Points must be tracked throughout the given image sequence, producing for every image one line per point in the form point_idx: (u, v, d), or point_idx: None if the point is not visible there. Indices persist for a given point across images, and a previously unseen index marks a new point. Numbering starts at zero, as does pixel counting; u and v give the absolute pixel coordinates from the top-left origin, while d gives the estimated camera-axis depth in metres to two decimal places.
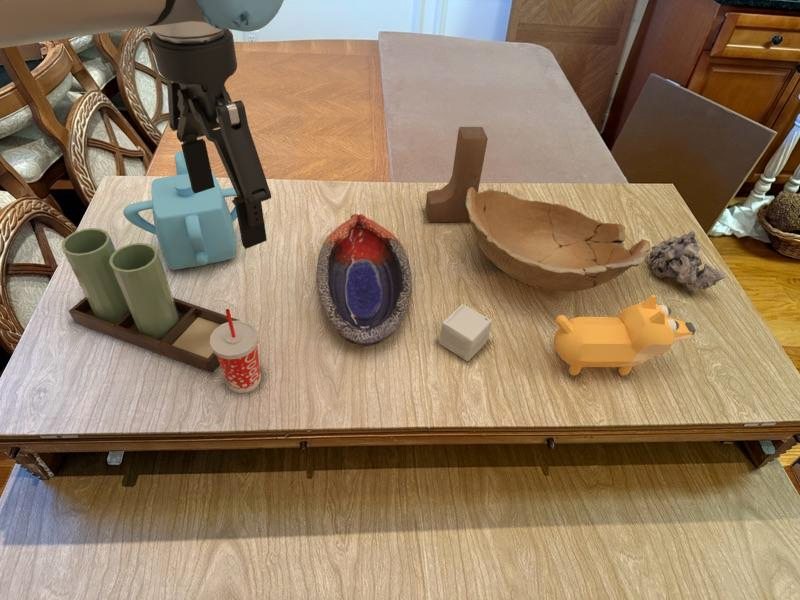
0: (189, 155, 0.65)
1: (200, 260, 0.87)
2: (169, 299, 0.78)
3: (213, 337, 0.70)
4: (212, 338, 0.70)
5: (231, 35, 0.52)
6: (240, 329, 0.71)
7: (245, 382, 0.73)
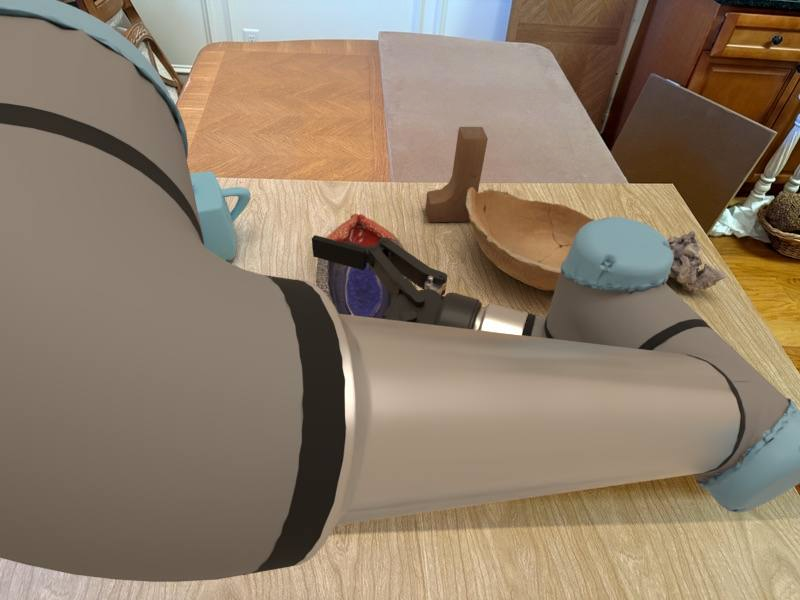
0: (353, 253, 0.61)
1: None
2: None
3: None
4: None
5: None
6: None
7: None
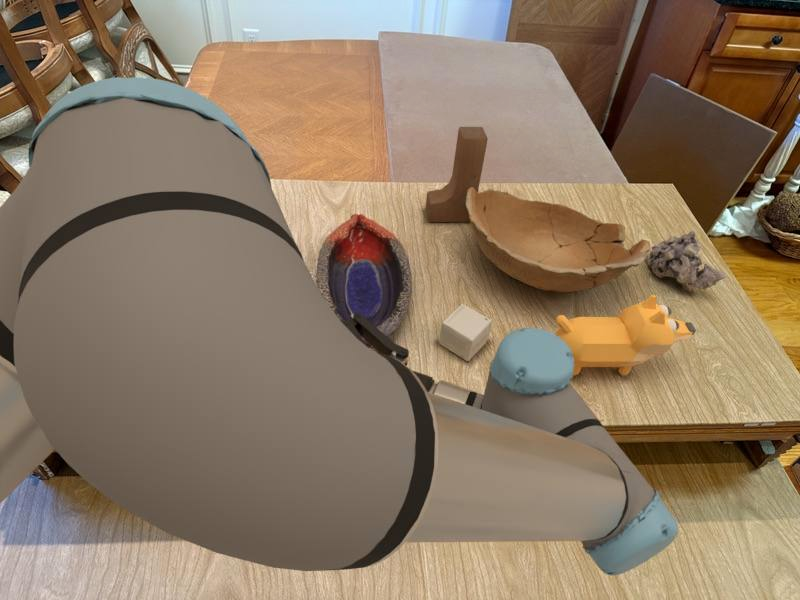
0: None
1: None
2: None
3: None
4: None
5: None
6: None
7: None
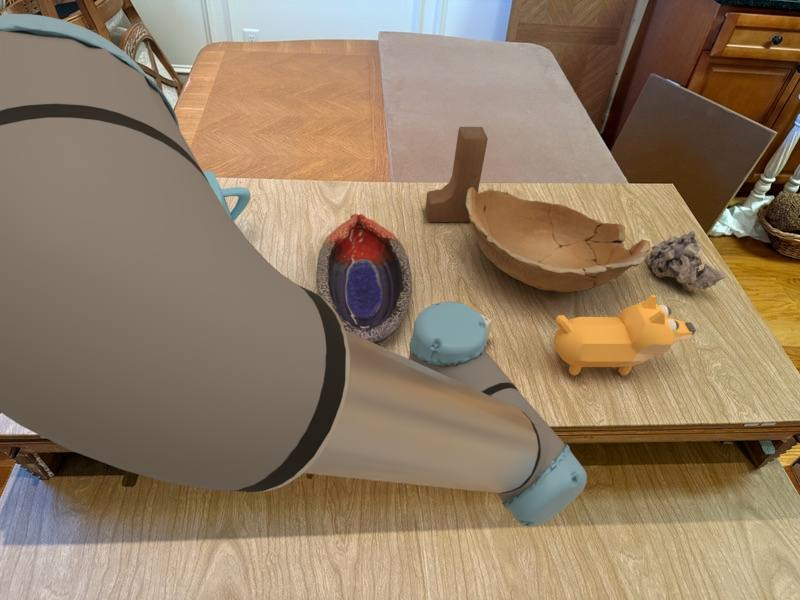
0: None
1: None
2: None
3: None
4: None
5: None
6: None
7: None
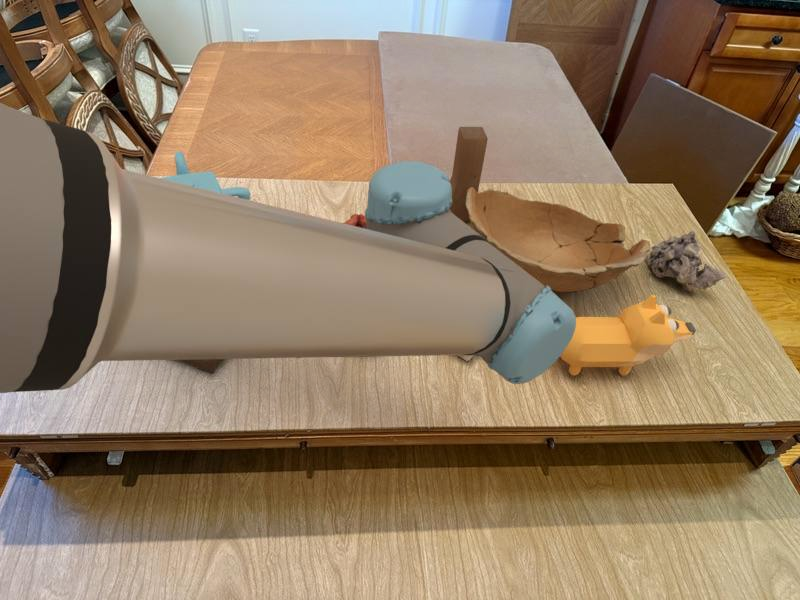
0: None
1: None
2: None
3: None
4: None
5: None
6: None
7: None
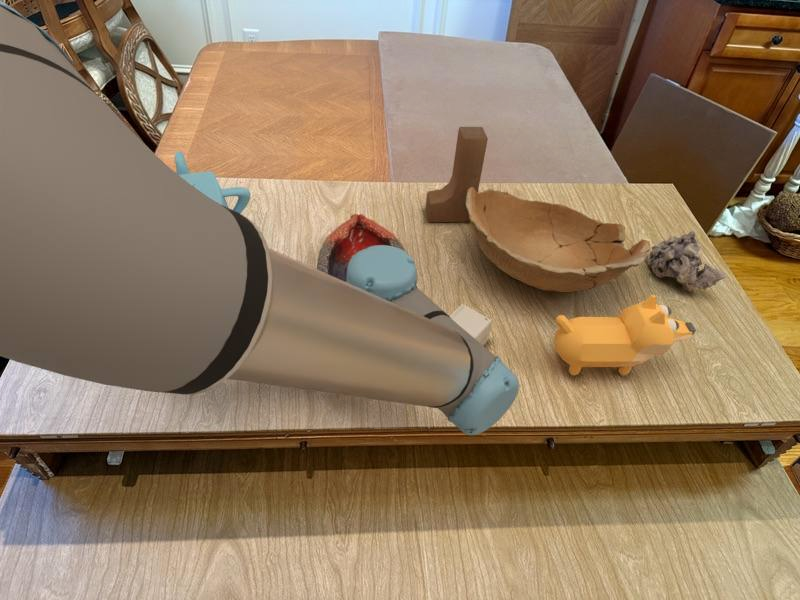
0: None
1: None
2: None
3: None
4: None
5: None
6: None
7: None
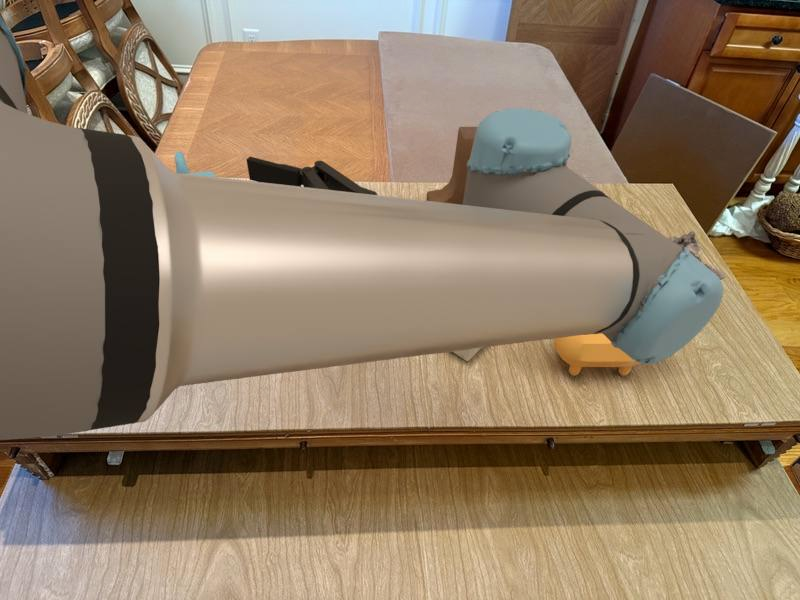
0: (287, 173, 0.61)
1: None
2: None
3: None
4: None
5: None
6: None
7: None
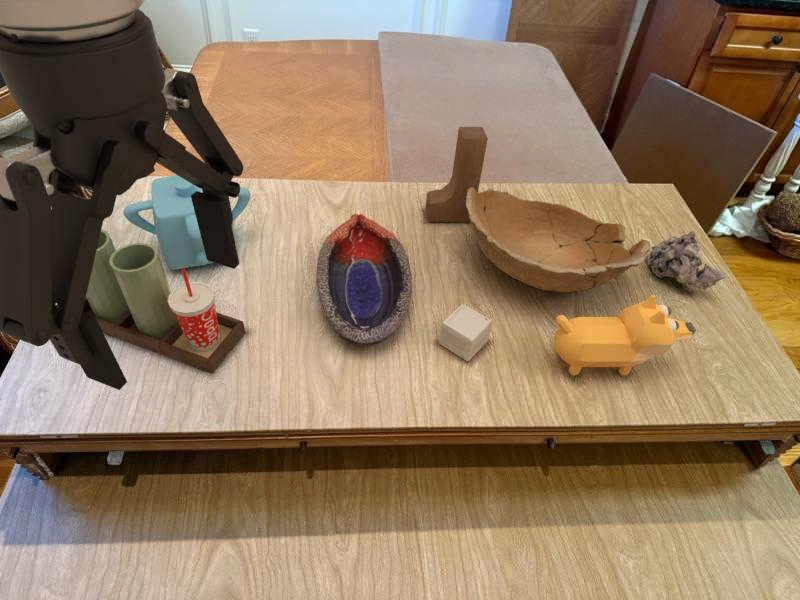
0: (198, 210, 0.42)
1: (200, 260, 0.87)
2: None
3: (171, 296, 0.74)
4: (170, 297, 0.73)
5: (101, 49, 0.25)
6: (198, 289, 0.75)
7: (204, 341, 0.77)
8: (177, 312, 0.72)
